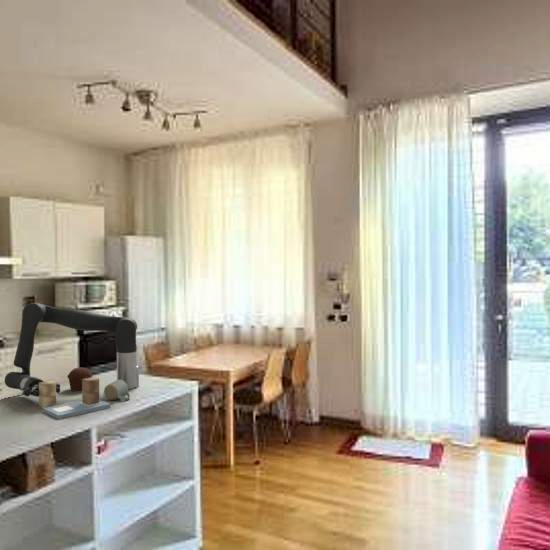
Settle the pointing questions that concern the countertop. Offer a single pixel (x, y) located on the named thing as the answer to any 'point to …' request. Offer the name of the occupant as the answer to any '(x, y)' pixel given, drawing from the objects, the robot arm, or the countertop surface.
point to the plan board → (74, 409)
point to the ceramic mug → (117, 390)
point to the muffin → (78, 378)
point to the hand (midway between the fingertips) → (48, 392)
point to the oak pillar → (47, 394)
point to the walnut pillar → (90, 391)
